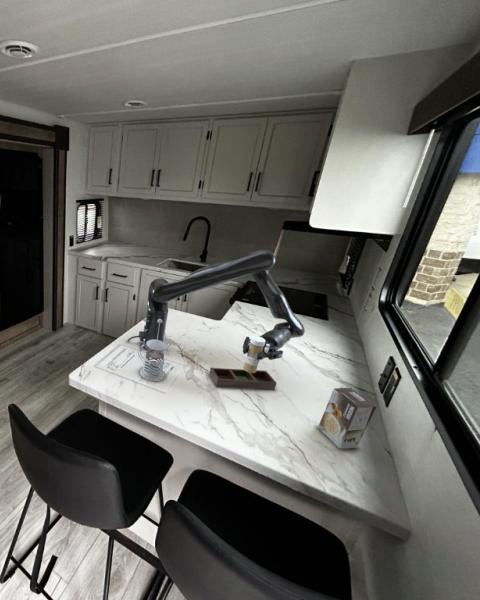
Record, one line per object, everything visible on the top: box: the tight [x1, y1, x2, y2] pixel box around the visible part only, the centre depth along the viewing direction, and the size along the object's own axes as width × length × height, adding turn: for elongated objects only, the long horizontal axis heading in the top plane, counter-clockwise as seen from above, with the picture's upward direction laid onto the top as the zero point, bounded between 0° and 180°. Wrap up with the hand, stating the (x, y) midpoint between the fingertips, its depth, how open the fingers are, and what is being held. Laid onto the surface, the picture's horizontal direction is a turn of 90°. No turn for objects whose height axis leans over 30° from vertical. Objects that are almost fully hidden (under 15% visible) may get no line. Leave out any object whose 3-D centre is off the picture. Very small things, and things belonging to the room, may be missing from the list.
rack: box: [208, 367, 278, 391], centre depth 126 cm, size 8×23×4 cm, turn 88°
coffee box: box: [317, 387, 377, 450], centre depth 99 cm, size 9×6×16 cm
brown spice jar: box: [242, 335, 265, 373], centre depth 115 cm, size 5×5×13 cm
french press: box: [137, 319, 168, 382], centre depth 126 cm, size 10×12×25 cm
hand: (251, 354), depth 113 cm, fingers closed on brown spice jar, 4 cm apart
